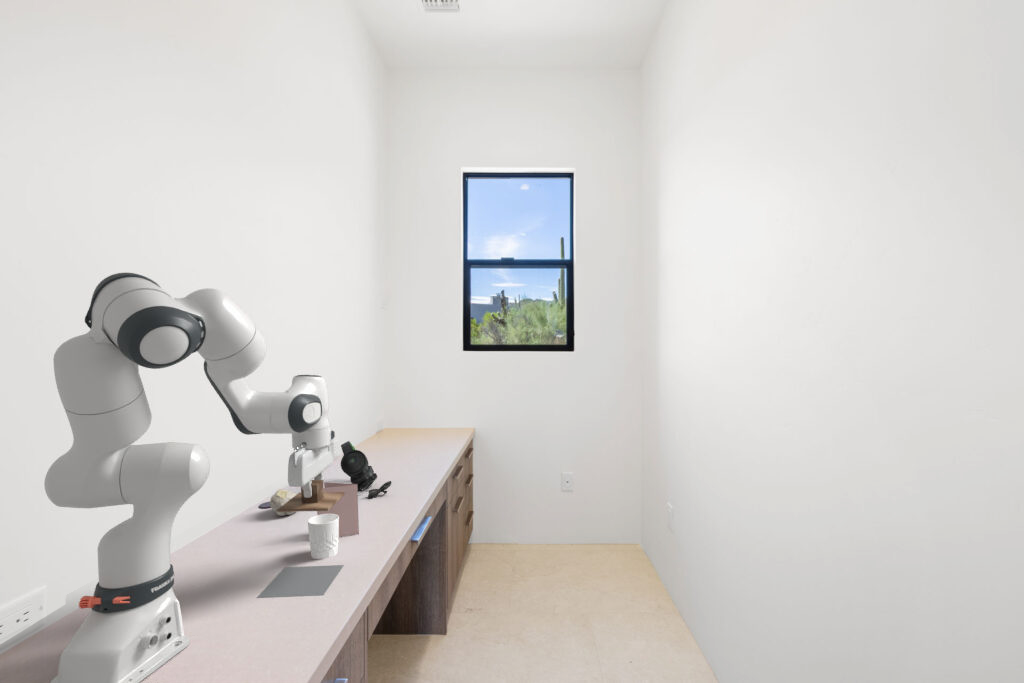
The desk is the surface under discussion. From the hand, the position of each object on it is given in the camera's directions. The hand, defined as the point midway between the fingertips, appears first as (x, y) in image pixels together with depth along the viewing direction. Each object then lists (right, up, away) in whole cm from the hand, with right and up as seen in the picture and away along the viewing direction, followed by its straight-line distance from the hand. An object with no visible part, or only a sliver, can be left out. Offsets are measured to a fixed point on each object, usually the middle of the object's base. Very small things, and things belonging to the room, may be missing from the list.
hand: (313, 492), depth 127 cm
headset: (-7, -19, +68) cm, 71 cm away
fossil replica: (-26, -20, +44) cm, 55 cm away
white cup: (-1, -20, +9) cm, 22 cm away
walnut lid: (0, -2, 0) cm, 2 cm away
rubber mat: (0, -20, -6) cm, 21 cm away
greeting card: (-2, -20, +22) cm, 30 cm away
